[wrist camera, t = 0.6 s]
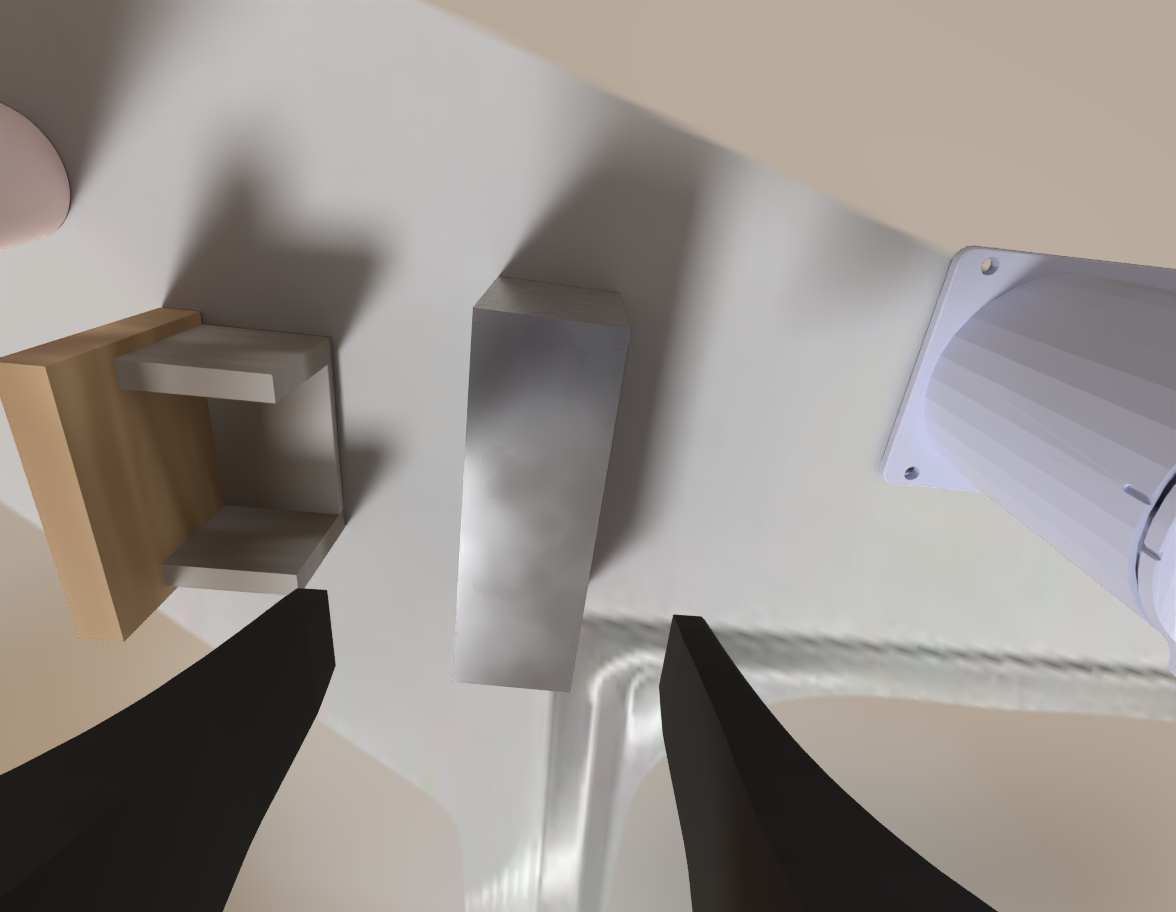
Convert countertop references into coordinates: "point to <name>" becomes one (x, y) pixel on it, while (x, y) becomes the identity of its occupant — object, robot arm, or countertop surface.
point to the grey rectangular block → (534, 477)
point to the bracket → (176, 461)
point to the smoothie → (29, 182)
